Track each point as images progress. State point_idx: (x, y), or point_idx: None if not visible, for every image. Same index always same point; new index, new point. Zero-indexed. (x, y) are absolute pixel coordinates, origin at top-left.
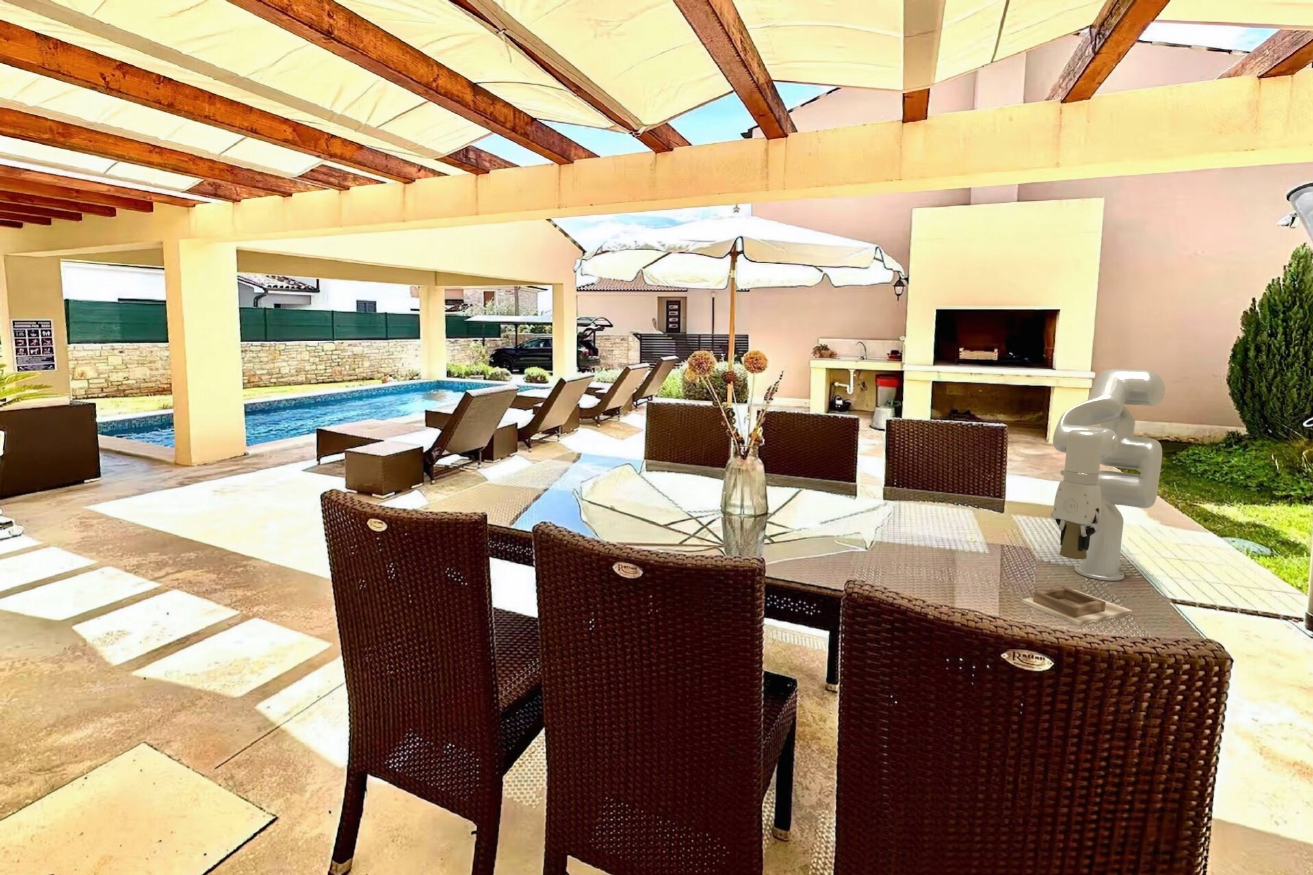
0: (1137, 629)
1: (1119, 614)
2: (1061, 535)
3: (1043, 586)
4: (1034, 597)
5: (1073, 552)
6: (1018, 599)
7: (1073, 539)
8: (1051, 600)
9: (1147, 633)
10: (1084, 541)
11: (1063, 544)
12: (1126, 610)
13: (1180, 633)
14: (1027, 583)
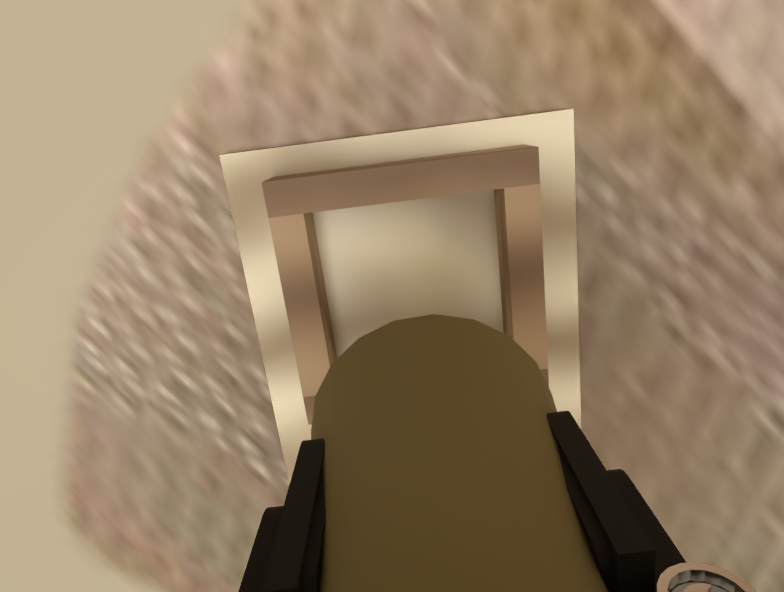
0: (149, 390)
1: (281, 439)
2: (611, 492)
3: (698, 413)
4: (523, 146)
5: (348, 382)
6: (613, 132)
7: (369, 489)
8: (413, 163)
9: (105, 394)
10: (259, 566)
11: (496, 395)
12: None
13: (91, 515)
14: (764, 370)
